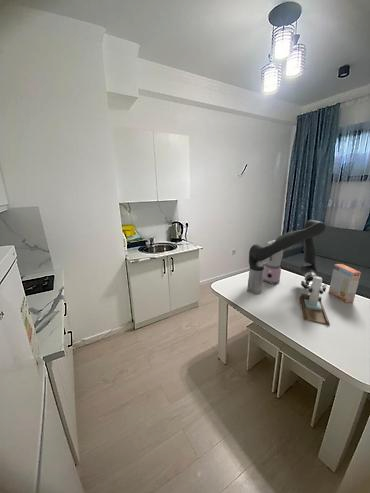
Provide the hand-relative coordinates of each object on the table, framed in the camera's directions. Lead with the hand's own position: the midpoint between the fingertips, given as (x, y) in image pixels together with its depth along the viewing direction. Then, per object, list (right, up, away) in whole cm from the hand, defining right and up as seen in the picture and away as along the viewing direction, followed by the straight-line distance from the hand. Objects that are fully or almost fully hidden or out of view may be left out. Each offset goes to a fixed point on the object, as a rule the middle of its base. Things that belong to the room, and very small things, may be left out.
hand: (316, 291), depth 118 cm
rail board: (0, -12, +3) cm, 12 cm away
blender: (-11, -1, +39) cm, 40 cm away
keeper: (+1, -10, +6) cm, 11 cm away
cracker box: (+26, -7, +16) cm, 32 cm away
